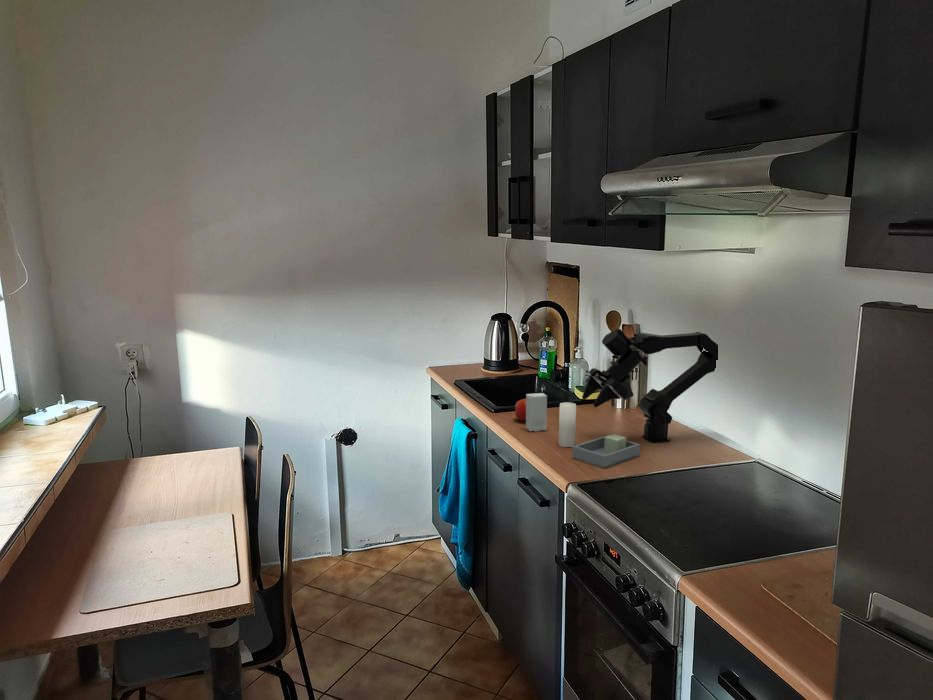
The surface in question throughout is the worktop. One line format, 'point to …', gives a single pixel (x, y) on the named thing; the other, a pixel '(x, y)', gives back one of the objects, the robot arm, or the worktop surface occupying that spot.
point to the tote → (604, 453)
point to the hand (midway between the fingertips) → (588, 402)
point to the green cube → (614, 443)
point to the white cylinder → (567, 424)
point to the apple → (521, 409)
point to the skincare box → (536, 412)
